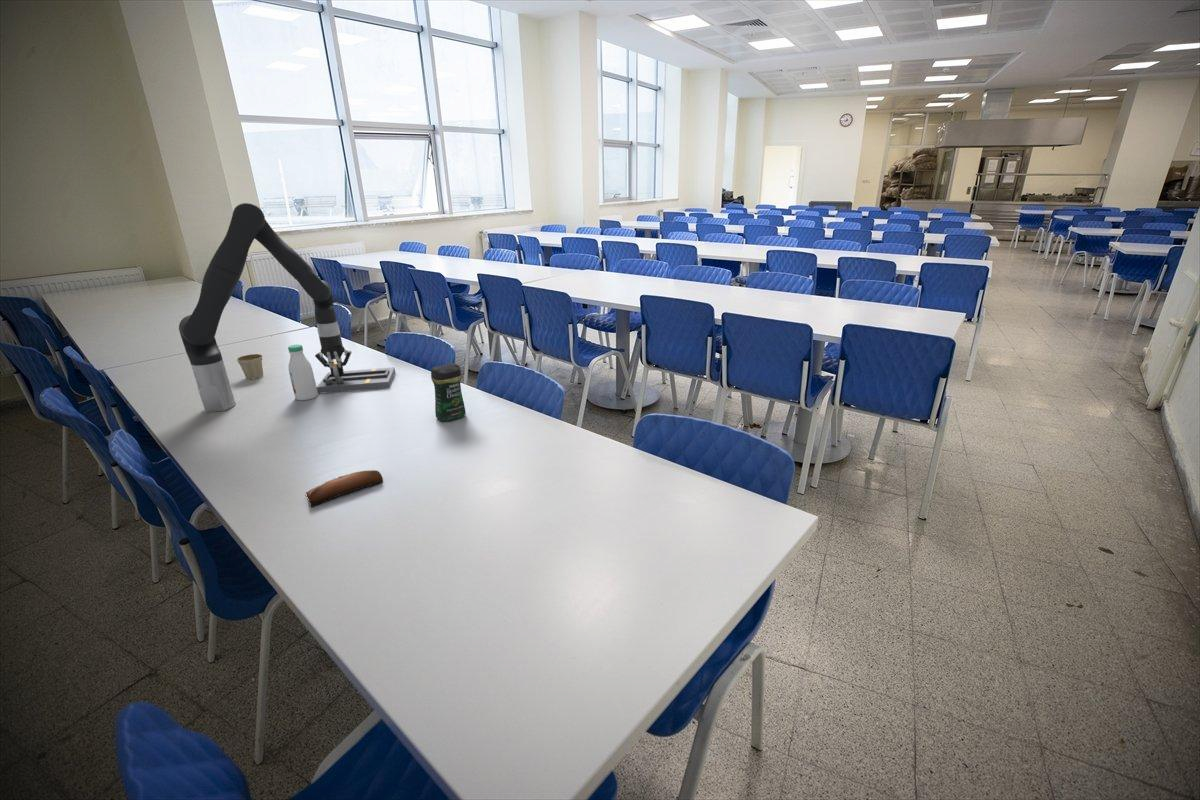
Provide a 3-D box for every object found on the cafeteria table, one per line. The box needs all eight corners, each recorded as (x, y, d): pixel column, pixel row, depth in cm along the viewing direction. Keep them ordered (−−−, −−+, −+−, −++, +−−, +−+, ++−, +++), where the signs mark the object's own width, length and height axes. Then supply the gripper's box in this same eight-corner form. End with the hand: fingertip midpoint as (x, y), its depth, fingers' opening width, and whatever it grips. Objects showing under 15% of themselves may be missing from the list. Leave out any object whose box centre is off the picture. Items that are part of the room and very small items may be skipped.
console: (389, 387, 209) (387, 377, 208) (317, 393, 204) (315, 383, 203) (395, 372, 226) (393, 363, 224) (329, 378, 221) (327, 368, 219)
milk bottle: (322, 393, 204) (311, 343, 197) (310, 401, 197) (298, 349, 189) (303, 393, 205) (291, 342, 197) (290, 400, 198) (277, 348, 190)
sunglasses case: (372, 470, 149) (373, 456, 144) (382, 490, 146) (384, 476, 141) (302, 494, 138) (300, 480, 133) (311, 516, 135) (310, 502, 130)
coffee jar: (443, 424, 177) (436, 371, 170) (433, 417, 182) (425, 365, 175) (469, 416, 183) (464, 364, 176) (459, 409, 188) (452, 359, 181)
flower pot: (259, 381, 218) (253, 360, 215) (236, 381, 219) (230, 360, 215) (272, 373, 227) (267, 353, 224) (250, 373, 227) (245, 354, 224)
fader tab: (339, 379, 211) (336, 364, 208) (334, 379, 210) (331, 365, 208) (342, 375, 215) (339, 361, 212) (337, 376, 214) (334, 361, 212)
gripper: (307, 337, 201) (317, 380, 208) (346, 334, 204) (354, 377, 210) (312, 332, 208) (322, 374, 214) (350, 330, 210) (358, 371, 217)
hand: (338, 375), depth 212 cm, fingers closed on fader tab
